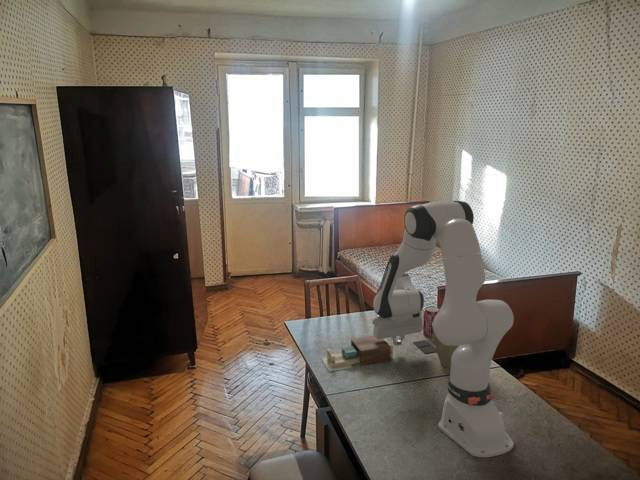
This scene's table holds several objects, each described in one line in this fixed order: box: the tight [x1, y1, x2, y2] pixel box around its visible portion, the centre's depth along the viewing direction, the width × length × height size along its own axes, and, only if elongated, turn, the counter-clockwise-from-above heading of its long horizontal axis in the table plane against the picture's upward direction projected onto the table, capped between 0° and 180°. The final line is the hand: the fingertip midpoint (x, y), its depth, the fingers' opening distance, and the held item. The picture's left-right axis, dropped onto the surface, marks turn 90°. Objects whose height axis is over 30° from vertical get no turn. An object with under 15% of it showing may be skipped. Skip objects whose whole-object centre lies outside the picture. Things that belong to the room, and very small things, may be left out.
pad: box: [321, 356, 353, 373], centre depth 177 cm, size 10×9×1 cm
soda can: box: [422, 305, 440, 338], centre depth 198 cm, size 7×7×12 cm
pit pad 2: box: [419, 345, 437, 355], centre depth 186 cm, size 5×6×1 cm
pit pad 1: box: [413, 339, 432, 349], centre depth 191 cm, size 5×6×1 cm
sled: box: [326, 339, 394, 367], centre depth 179 cm, size 6×25×5 cm, turn 107°
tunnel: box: [350, 334, 391, 367], centre depth 180 cm, size 10×12×6 cm
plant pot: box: [432, 323, 459, 369], centre depth 174 cm, size 15×15×16 cm
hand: (397, 344), depth 183 cm, fingers closed
